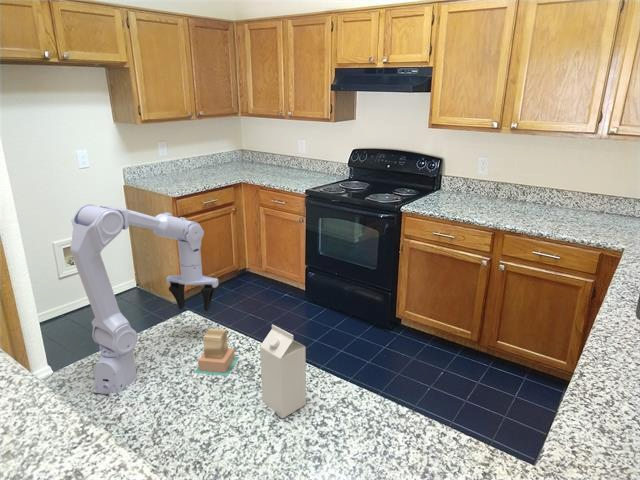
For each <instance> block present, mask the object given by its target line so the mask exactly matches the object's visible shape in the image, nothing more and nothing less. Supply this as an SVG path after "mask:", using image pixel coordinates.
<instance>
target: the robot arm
mask: <svg viewBox="0 0 640 480" xmlns="http://www.w3.org/2000/svg"><path fill="white" fill-rule="evenodd" d="M70 221H71V223H72V229H73V230H72V236H71V241H70V242H71V243H70V253H71V257H72V259H73V261H74V264H75V267H76V270H77V272H78V275H79V279H80V281H81V283H82V285H83V286H82V287H83V289H84V292H85V294H86V296H87V299H88V302H89V304H90V307H91V310H92V312H93V316H94V318H93V319H92V320H91V322H90V323H91V326H92V333H91V335H92V339H93V341H94V342H95V343H96V344H98V345H99V353H100V356H99V359H98V360H97V362H96V363H95V364H94V365H93V370H92V373H93V381H94V386H95V388H94V389H93V391H92V392H93V393H95V394H103V395H111V394H120V393H121V392H123V390H124V389H125V388H126V387H127V386H128V385H130V384H131V383H134V381H136V379H137V367H136V360H135V359H136V358H135V353H134V349H135V347H136V346H137V343H138V339H139V337H138V333H137V331H136V330H135V329H134V328H132V327H131V324H130V322H129V320H128V319H127V318H126V317H125V316H124V315H123V313H122V311H121V310H120V308H119V305H118V301H117V299H116V295H115V292H114V290H113V287H112V284H111V281H110V279H109V276H108V273H107V270H106V267H105V263H104V261H103V258H102V255H101V252H102V251H103V250H104V248H106V247H107V246H108V245H109V244H110V243H111V242H112V241H113V240H115V238H116V237H118V236H119V235H120V233H122V230H124V231H126V230H127V229H128V228H129V227H130V226H134V227H140V228H144V229H150V230H151V231H152V233H153V234H154V235H155V236H157V237H161V238H167V239H172V240H176V241H177V248H178V258H179V259H178V260H179V269H180V274H179V275H168V276H167V277H166V279H165V280H166V285H170V286H169V287H168V291H169V292H170V293H171V294H172V296H173V298H174V299H175V301H176V303H177V306H178V309H179V310H182V309H184V307H186V301H185V285H186V286H198V287H199V286H203V287H202V288H201V289H200V293H201V295H202V298H203V309H204V312H208V311H209V310H210V309H211V304H212V298H213V295H214V292H215V291H216V288H218V286H219V279H218V278H215V277H210V276H206V275H203V266H202V264H203V263H202V254H201V252H202V251H201V247H202V239H203V237H204V235H205V230H203V228H202V226H201V224H200V223H199V222H196V221H193V220H192V221H191V220H187V218H186V217H182V216H180V217H176V216H173V214H172V213H170V212H164V213H159V214H157V215H156V216H152V215H149V214H145V213H143V212H138V211H135V210H130V209H127V208H122V207H116V206H106V205H99V206H98V205H95V204H92V203H87V204H83V205H82V206H81V207H79V208H78V209H77V211H76V213H75V214H74V215H73V216H72V218H71V220H70Z"/></svg>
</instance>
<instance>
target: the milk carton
mask: <svg viewBox="0 0 640 480" xmlns="http://www.w3.org/2000/svg"><path fill="white" fill-rule="evenodd" d="M259 349H260V374H261V395H262V403H263V404H265V405H266V406H268V407H269V408H271V410H273V411H275V413H274V414H275V415H277V416H278V417H279V418H281V419H285V418H286V417H288V416H289V415H291V414H292V413H294V412H296V411H298V410H300V409H301V408H303V407H304V406H306V405H307V374H306V372H307V371H306V368H307V367H306V362H307V361H306V358H307V357H306V346H305V345H303V344H302V343H300V342H298V341H296V340H294V335H293V334H292V333H289V332H288V331H286V330H284V329H282V328H281V327H278V326H276V325H274V324H271V330H270V331H269V332H268V334H266V337H265V338H264V340H263V342H261V344H260V346H259Z"/></svg>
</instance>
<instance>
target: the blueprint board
mask: <svg viewBox="0 0 640 480" xmlns="http://www.w3.org/2000/svg"><path fill="white" fill-rule="evenodd" d="M239 359H240V356H235V359H234V361H233V362H232V364H231V365H230V367H229V368H228V370H227V371H226V373H216V372H206V371H199V366H197V367H196V368H195V370H194V371H193V373H194V374H202V375H203V374H204V375H211V376H213V375H214V376H221V377H228V376H229V374H231V371H232V370H233V368H234V367H235V365H236V363H237V362H238V361H239Z"/></svg>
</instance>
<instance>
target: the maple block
mask: <svg viewBox="0 0 640 480" xmlns="http://www.w3.org/2000/svg"><path fill="white" fill-rule="evenodd" d="M227 331H228V330H227V329H221V328H209V329H208V330H207V331H206V333H205V334H204V335H203V336H202V340H203V351H204V352H203V353H204V354H205V358H211V359H222V358H223V357H224V355H225V354H226V353H227V351H228V348H229V347H228V346H229V345H228V332H227Z"/></svg>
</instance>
